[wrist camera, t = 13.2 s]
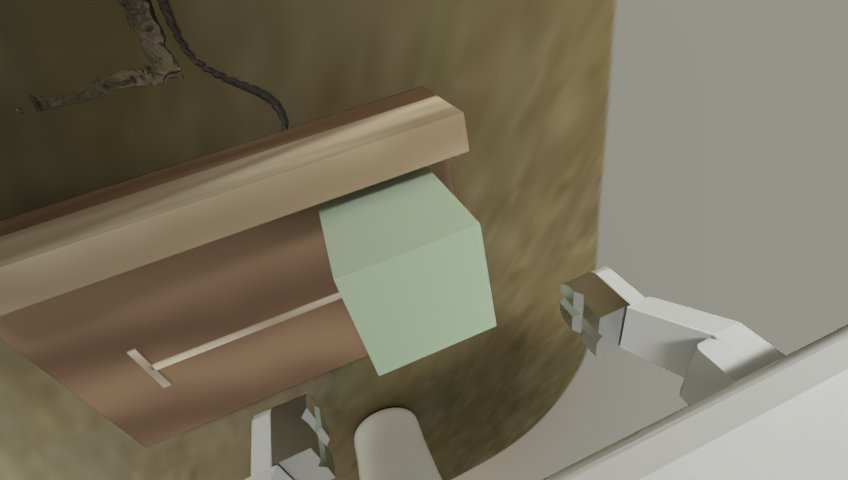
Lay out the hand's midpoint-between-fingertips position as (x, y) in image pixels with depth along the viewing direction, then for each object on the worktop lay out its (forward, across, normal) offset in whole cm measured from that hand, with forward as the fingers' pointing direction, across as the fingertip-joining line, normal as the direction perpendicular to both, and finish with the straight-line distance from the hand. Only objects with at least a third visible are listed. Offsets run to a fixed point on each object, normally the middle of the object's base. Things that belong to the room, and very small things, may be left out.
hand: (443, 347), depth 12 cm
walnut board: (+11, +6, +3) cm, 13 cm away
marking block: (+9, 0, +1) cm, 9 cm away
